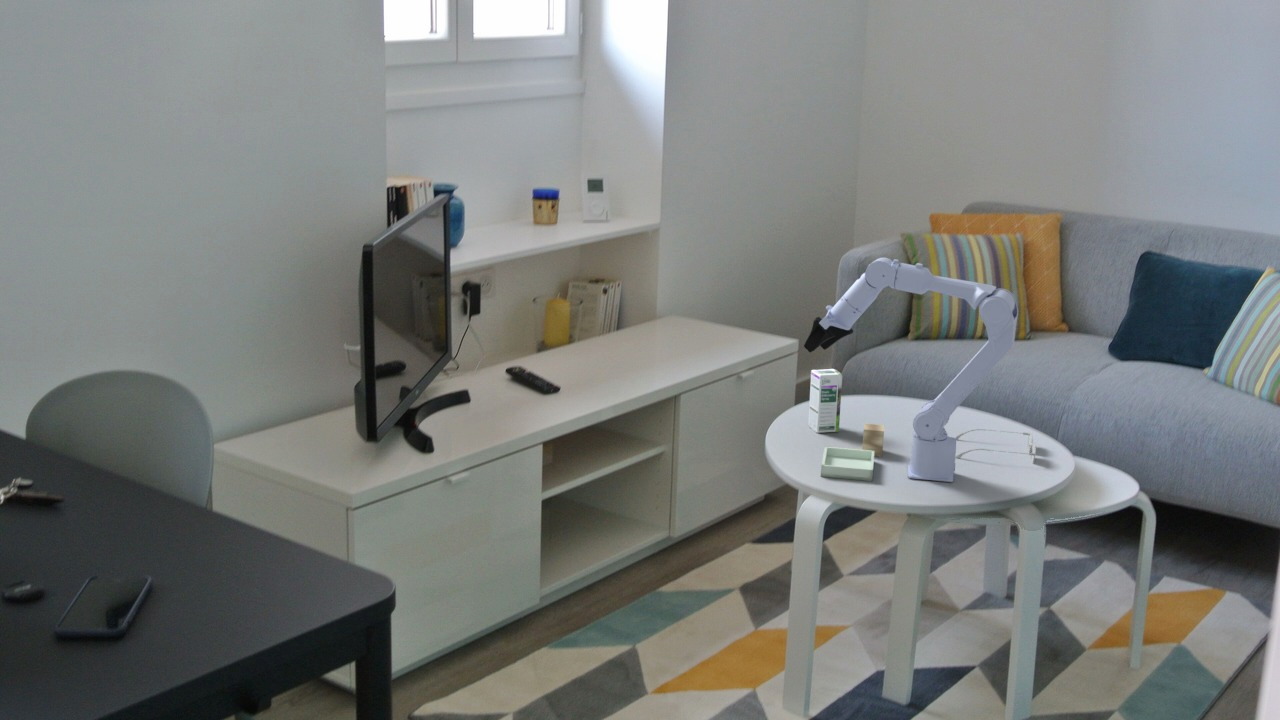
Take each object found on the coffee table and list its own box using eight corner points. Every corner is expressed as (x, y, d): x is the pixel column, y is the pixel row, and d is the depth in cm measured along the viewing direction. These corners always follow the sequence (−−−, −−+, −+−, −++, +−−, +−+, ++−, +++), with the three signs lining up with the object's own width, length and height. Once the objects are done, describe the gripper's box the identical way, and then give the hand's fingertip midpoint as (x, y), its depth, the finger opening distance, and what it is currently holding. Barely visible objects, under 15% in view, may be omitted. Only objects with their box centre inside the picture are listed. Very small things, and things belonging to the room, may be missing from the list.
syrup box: (817, 433, 301) (820, 375, 297) (807, 426, 307) (811, 368, 303) (839, 432, 303) (843, 373, 299) (829, 424, 308) (833, 367, 304)
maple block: (882, 450, 291) (884, 425, 289) (881, 456, 287) (884, 431, 285) (862, 448, 292) (864, 423, 290) (861, 454, 287) (863, 429, 286)
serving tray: (873, 461, 283) (874, 450, 282) (872, 481, 270) (873, 470, 270) (824, 457, 285) (824, 446, 284) (820, 476, 273) (821, 465, 272)
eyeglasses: (1035, 468, 283) (1037, 451, 282) (952, 461, 286) (954, 444, 285) (1029, 446, 297) (1030, 430, 296) (950, 440, 301) (951, 424, 300)
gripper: (854, 289, 280) (815, 332, 286) (827, 291, 268) (788, 337, 274) (876, 311, 278) (837, 354, 284) (850, 314, 266) (810, 360, 272)
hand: (814, 347), depth 279 cm, fingers open, 7 cm apart
